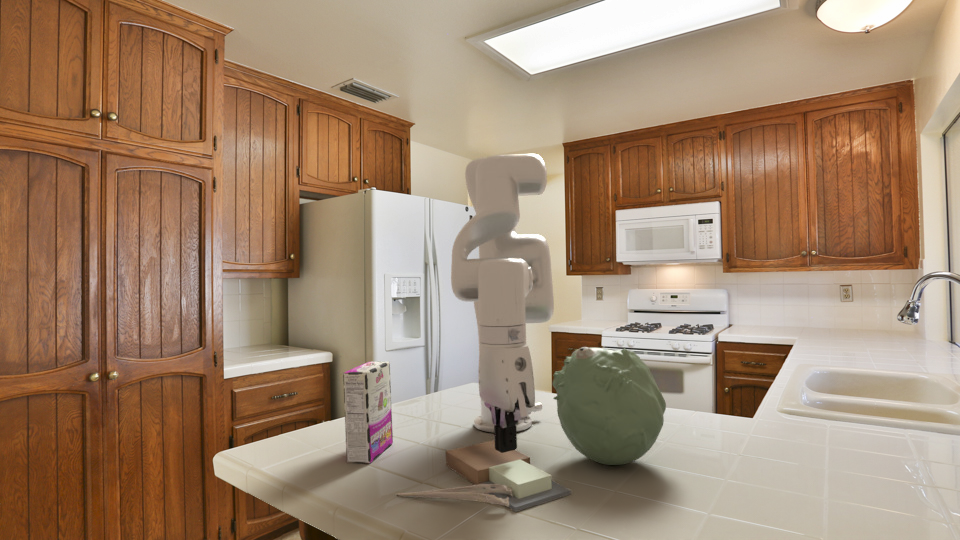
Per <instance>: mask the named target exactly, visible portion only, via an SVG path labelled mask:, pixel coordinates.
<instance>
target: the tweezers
mask: <svg viewBox="0 0 960 540" xmlns="http://www.w3.org/2000/svg"><path fill="white" fill-rule="evenodd" d="M491 487H496V488H495V489H492V488H491ZM483 488H485V489H483ZM512 492H513V490H512V489H511V488H509V486H504V485H500V484H478V485H475V484H473V485H466V486H459V487H457V486H456V487H449V488H442V489H433V490H425V491H415V492H414V491H413V492H412V491H411V492H404V493H403V492H398V493H397V494H396V495H397V496H399V497H411V498H433V499H452V500H453V499H454V500H456V499H457V500H466V501H467V500H468V501H477V502H481V503H488V504H489V503H490V504H496V505H500V506H506V507H507V508H509V507H508V506H509V501H508V500H509V498H506V499H502V498H498V497H496V496H495V495H489V494H488V493H505V494H509V495H510V496H512V497H513V494H512Z"/></svg>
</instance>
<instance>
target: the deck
mask: <svg viewBox="0 0 960 540" xmlns="http://www.w3.org/2000/svg"><path fill="white" fill-rule="evenodd" d="M516 460H522V461H524V462H526V463H528V464H530V465H531V457H530V456H528V455H526V454H524V453H522V452H520V451H518V450H517V449H515V450H512V451H508V452H504V453H501V452H499V451H497V450H496V449H495V439H492V440H488V441H484V442H480V443H475V444H470V445H466V446H462V447H458V448H457V447H456V448H453V449H452V448H451V449H448V450H445V466H446V467H448V468H450V469H451V470H452V469H453V470H452V471H454V472H455V471H456V472H455V473H457V474H459V475H460V476H461V477H463V478H464V479H466V480H467V481H469V482H470V483H471V484H473V485H478V484H480V483H484V482H488V481H490V480H489V467H493V466H496V465H500V464H504V463H508V462H512V461H516Z"/></svg>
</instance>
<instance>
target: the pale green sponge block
mask: <svg viewBox="0 0 960 540" xmlns="http://www.w3.org/2000/svg"><path fill="white" fill-rule="evenodd" d="M489 480H490V481H491V482H493V483H495V484H500V485H504V486H509V488H511V489H512V490H513V492H512V494H513V495H514V496H515V497H517V498H518V499H520V498H523V497H526V496H529V495H533V494H536V493H539V492H543V491H546V490H549V489H552V483H551V480H552V475H551V474H550V473H548V472H545V471H544V470H541V468H538V467H536V466H534V465H532V464H531V463H530V464H528V463H526V462H524V461H522V460H516V461H512V462H508V463H504V464H500V465H496V466H493V467H489Z"/></svg>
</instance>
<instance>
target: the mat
mask: <svg viewBox="0 0 960 540" xmlns="http://www.w3.org/2000/svg"><path fill="white" fill-rule="evenodd" d="M551 483H552V489H549V490H546V491H543V492H539V493H536V494H533V495H529V496H526V497H523V498H520V499H518V498H517V497H515V496H514V495H513V497H512V496H510V495H509V494H505V493H487V494H489V495H495V496H496V497H498V498H502V499H506V498H509V500H508V501H509V506H508V507H507V508H509V509H510V510H511V511H513V512H514V513H517V512H520V511H523V510H526V509H529V508H532V507H535V506H538V505H541V504H544V503H548V502H552V501H553V500H558V499H560V498H563V497H566V496H569V495H571V494H572V493H571V492H572V491H571V489H569V488H568V487H566V486H564V485H561V484H560V483H558V482H556V481H554V480H552V479H551ZM480 484H495V483H493V482H491V481H488V482H484V483H480ZM491 488H492V489H495V488H496V487H491ZM483 489H485V488H483Z"/></svg>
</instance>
